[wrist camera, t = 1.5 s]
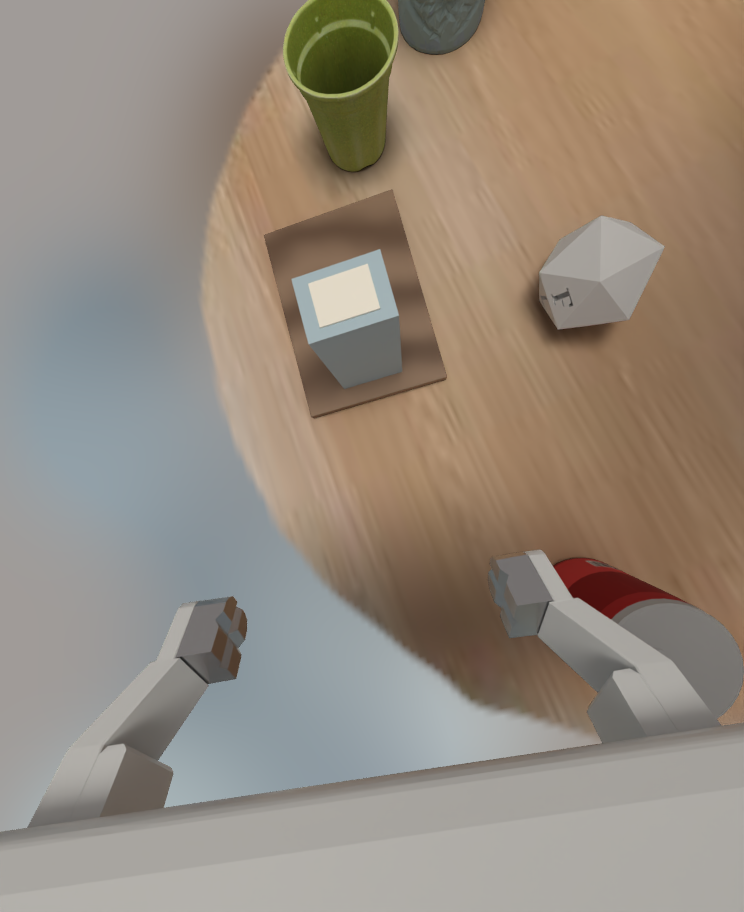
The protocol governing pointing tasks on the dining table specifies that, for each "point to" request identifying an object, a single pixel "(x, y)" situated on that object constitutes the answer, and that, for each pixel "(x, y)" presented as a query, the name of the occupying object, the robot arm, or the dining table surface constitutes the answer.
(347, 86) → the plant pot
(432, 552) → the dining table surface
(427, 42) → the blue-grey cup
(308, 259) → the board
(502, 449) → the dining table surface
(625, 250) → the die
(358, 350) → the light blue box
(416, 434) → the dining table surface
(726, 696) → the canned food
